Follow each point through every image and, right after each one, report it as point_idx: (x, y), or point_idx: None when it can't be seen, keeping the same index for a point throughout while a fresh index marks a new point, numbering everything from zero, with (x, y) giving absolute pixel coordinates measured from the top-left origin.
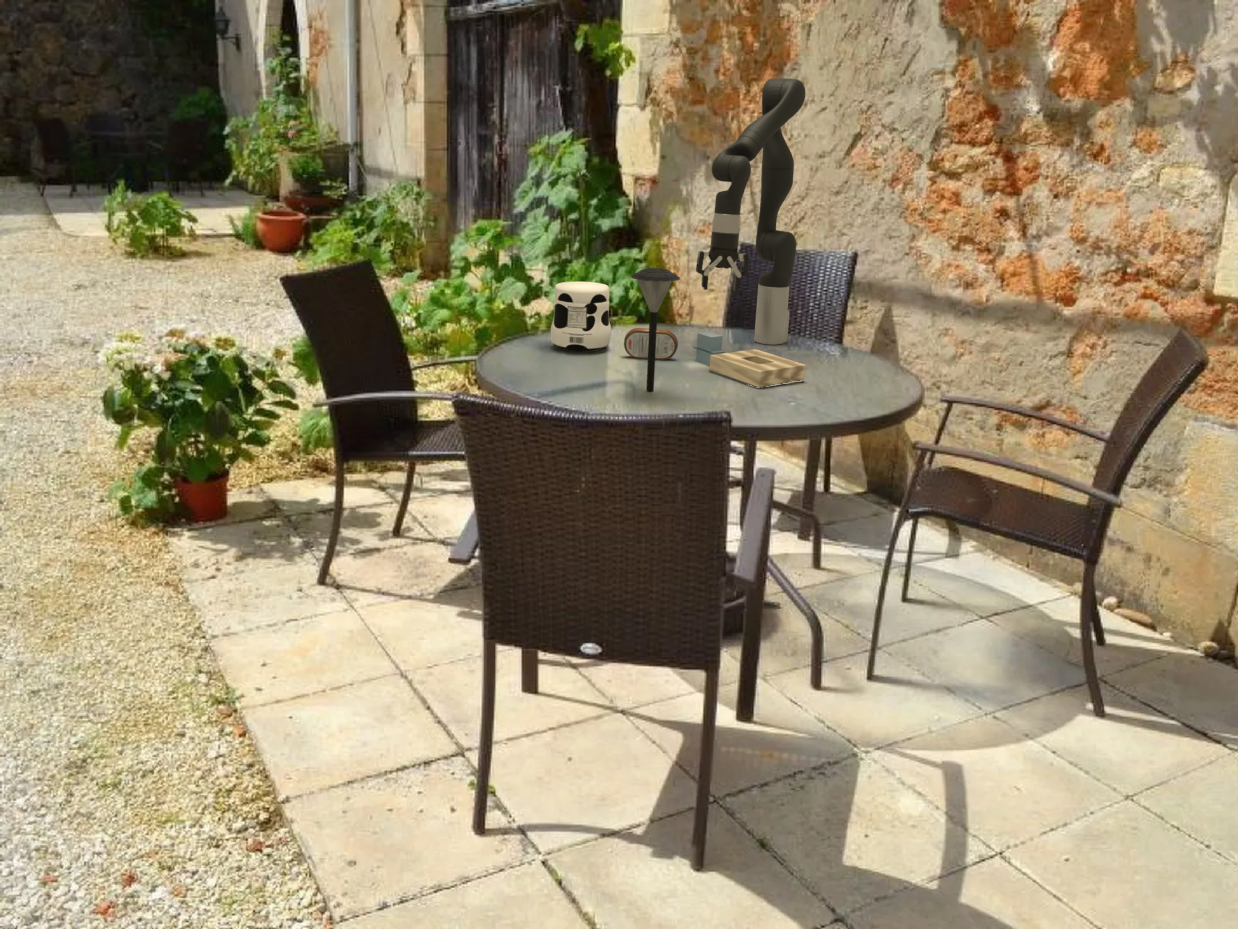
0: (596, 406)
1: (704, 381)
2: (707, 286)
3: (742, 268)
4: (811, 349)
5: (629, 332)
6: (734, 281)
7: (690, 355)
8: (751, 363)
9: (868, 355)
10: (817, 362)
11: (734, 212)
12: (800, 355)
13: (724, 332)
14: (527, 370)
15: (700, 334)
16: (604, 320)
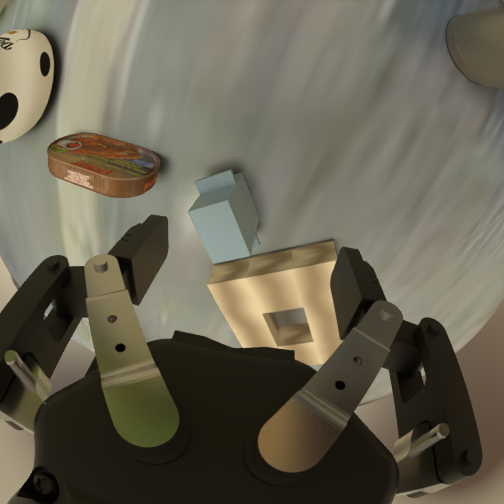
0: (83, 339)
1: (192, 309)
2: (161, 265)
3: (425, 363)
4: None
5: (48, 161)
6: (348, 291)
7: (213, 125)
8: (266, 341)
9: None
10: (459, 244)
11: None
12: (471, 187)
13: None
14: (2, 215)
15: (193, 223)
16: (4, 121)
